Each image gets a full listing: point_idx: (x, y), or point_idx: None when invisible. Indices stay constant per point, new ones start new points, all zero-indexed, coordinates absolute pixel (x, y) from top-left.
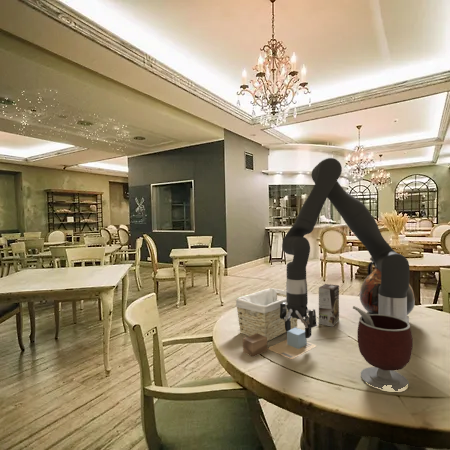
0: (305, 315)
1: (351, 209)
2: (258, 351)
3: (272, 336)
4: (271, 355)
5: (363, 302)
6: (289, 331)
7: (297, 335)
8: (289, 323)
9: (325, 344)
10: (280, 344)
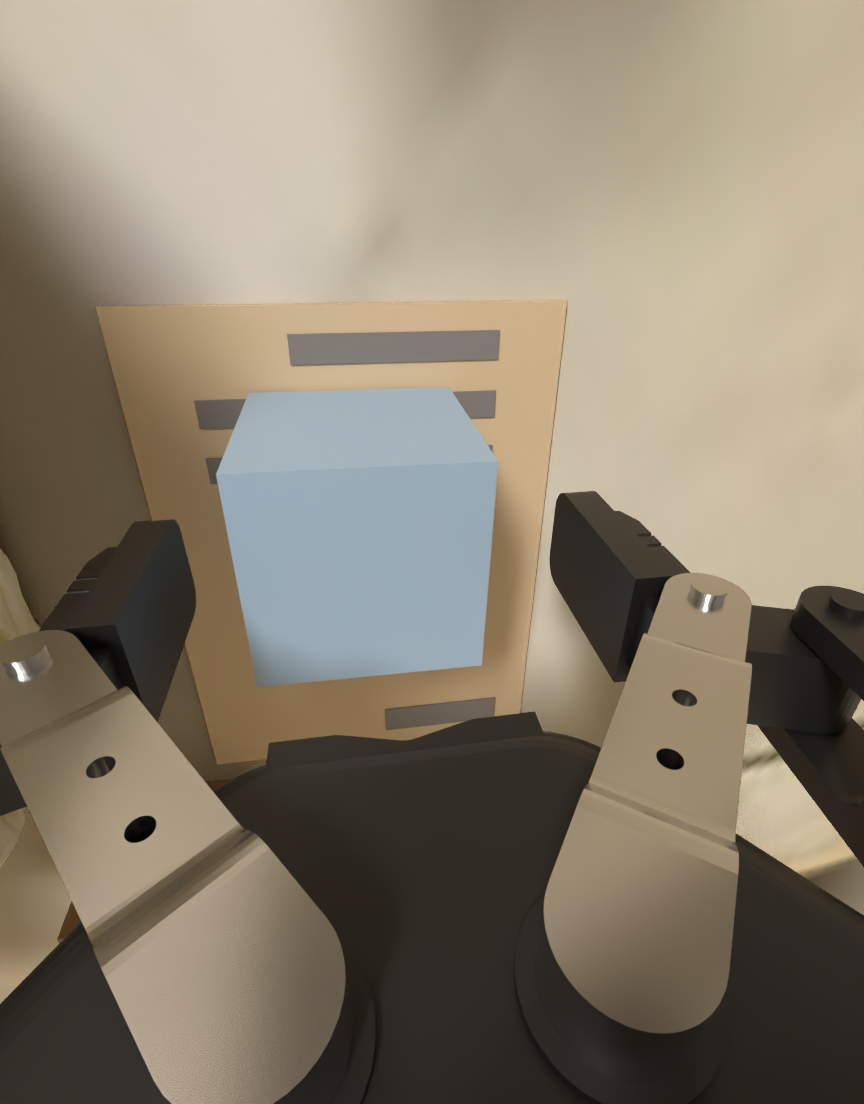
0: (677, 769)
1: None
2: None
3: (16, 626)
4: None
5: None
6: (290, 665)
7: (466, 660)
8: (141, 628)
9: (640, 131)
10: (225, 621)
